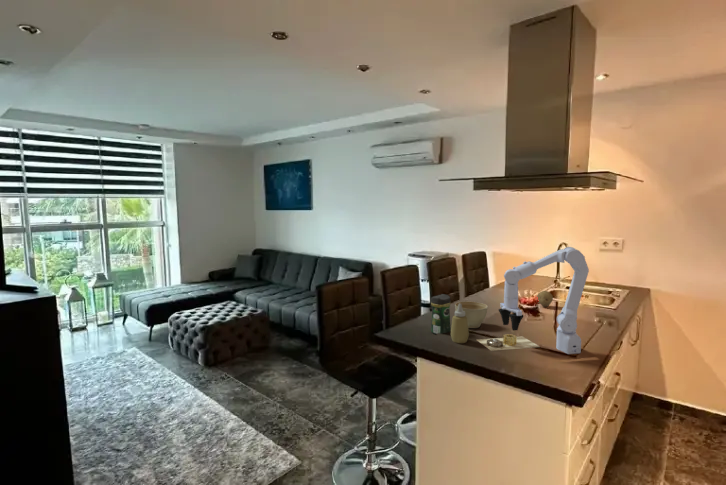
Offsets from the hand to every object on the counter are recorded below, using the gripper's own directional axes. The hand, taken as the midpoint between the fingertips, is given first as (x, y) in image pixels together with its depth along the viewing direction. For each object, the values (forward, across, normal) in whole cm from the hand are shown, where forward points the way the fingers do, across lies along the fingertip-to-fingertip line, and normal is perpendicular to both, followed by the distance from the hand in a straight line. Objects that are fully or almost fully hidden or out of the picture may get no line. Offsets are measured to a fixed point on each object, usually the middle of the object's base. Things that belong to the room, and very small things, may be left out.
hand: (510, 327), depth 177 cm
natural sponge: (+9, -57, +55) cm, 80 cm away
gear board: (+8, -1, -1) cm, 8 cm away
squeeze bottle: (+9, -8, -20) cm, 23 cm away
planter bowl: (+9, -31, -4) cm, 32 cm away
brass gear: (+7, 0, 0) cm, 7 cm away
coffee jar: (+8, -24, -23) cm, 34 cm away
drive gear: (+7, 0, -7) cm, 10 cm away
